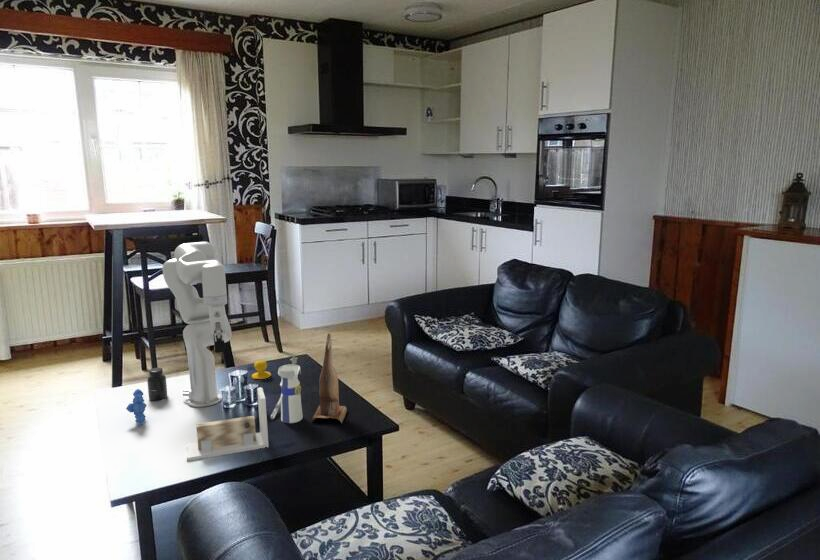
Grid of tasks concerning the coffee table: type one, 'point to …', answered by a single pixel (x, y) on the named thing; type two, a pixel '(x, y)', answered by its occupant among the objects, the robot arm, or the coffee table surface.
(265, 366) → the doorknob
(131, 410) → the grapes
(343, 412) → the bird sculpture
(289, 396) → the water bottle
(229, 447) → the hinge base
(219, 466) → the coffee table surface
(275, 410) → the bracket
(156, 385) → the supplement bottle
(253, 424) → the door
